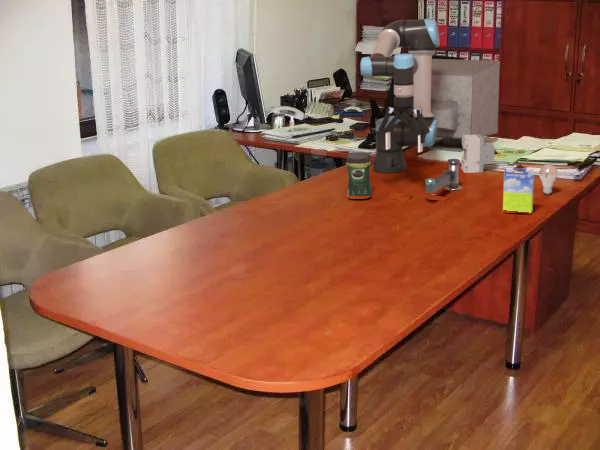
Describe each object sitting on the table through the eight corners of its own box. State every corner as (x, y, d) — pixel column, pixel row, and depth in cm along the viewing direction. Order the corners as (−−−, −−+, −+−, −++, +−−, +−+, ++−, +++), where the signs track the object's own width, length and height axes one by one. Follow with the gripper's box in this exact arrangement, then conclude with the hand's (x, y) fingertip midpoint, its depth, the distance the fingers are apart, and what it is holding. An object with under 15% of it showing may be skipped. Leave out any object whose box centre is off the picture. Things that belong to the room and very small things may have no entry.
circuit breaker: (497, 171, 356) (498, 137, 352) (464, 172, 357) (464, 138, 352) (493, 167, 363) (494, 133, 359) (461, 168, 364) (461, 135, 359)
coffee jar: (372, 195, 331) (371, 150, 325) (370, 201, 324) (369, 154, 318) (348, 195, 333) (347, 150, 327) (346, 200, 326) (344, 154, 320)
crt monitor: (498, 141, 409) (500, 60, 396) (470, 158, 379) (472, 71, 367) (433, 136, 427) (433, 58, 414) (401, 152, 397) (400, 68, 385)
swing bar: (444, 179, 332) (444, 166, 330) (456, 180, 329) (456, 167, 327) (422, 193, 314) (422, 179, 312) (434, 195, 312) (434, 181, 310)
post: (441, 190, 333) (442, 161, 329) (448, 185, 339) (448, 157, 335) (458, 192, 329) (458, 163, 326) (464, 187, 335) (465, 159, 331)
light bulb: (557, 192, 323) (559, 163, 319) (555, 197, 317) (556, 167, 313) (539, 191, 325) (541, 161, 322) (536, 196, 320) (538, 166, 316)
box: (532, 212, 301) (534, 166, 296) (532, 215, 298) (534, 169, 292) (503, 210, 305) (504, 165, 299) (502, 214, 301) (503, 168, 295)
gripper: (369, 95, 317) (370, 149, 324) (430, 98, 305) (430, 154, 311) (378, 92, 323) (379, 145, 330) (438, 95, 311) (437, 150, 317)
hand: (404, 150), depth 320 cm, fingers open, 13 cm apart
